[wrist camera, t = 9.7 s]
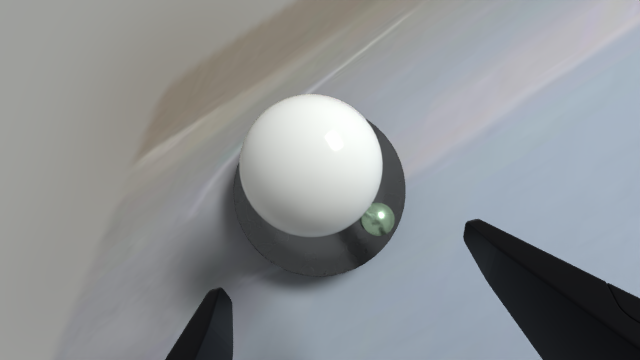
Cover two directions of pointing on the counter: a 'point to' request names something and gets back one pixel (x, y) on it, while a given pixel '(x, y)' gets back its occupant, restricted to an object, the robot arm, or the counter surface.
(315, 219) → the lightbulb
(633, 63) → the counter surface
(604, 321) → the robot arm
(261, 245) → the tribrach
